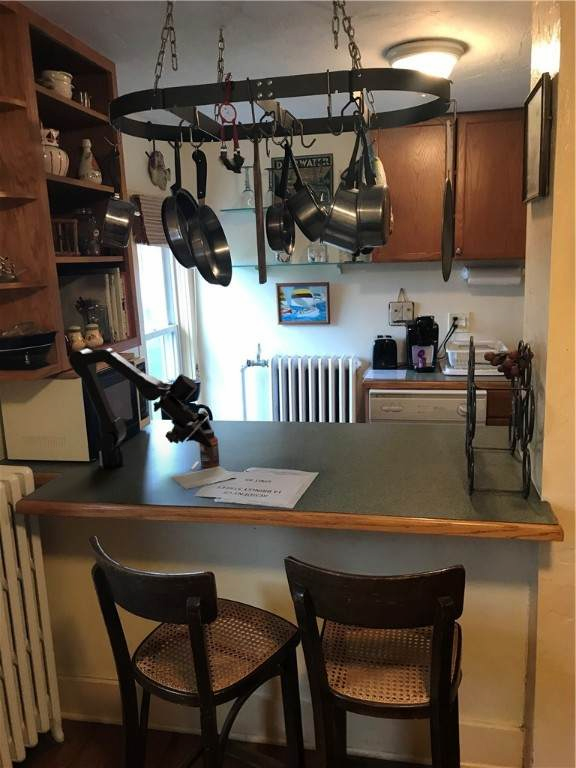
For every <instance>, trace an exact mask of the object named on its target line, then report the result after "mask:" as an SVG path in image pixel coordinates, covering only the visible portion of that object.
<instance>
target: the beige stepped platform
mask: <svg viewBox="0 0 576 768" xmlns="http://www.w3.org/2000/svg"><path fill="white" fill-rule="evenodd" d="M226 473H230V471H227V470H226V469H224V468H223V467H222V466H220V465H217V466H215V467H210V468H206V469H201V470H196V471H192V472H191V471H190V472H188V473H183V474H177V475H174V476H171V479H172V478H173V479H174V480H175V481H174V480H173V479H172V480H173V481H174V482H175V483H177V482H178V483H179V484H180V485H179V484H178V483H177V484H178V485H179V486H180V487H182V488H183V487H184V488H185V489H184V488H183V489H184V490H186V489H187V490H190V489H189V488H191V489H194V488H199V487H203V485H204V486H207V485H206V484H208V483H211V482H212V481H215V480H216V479H217V478H220V477H222V476H221V475H223V476H225V474H226ZM228 475H229V474H228ZM208 485H209V484H208Z"/></svg>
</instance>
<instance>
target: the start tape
mask: <svg viewBox="0 0 576 768" xmlns="http://www.w3.org/2000/svg"><path fill="white" fill-rule="evenodd" d="M199 463H200V461H199V460H198V461H195V462H194V464H193V465H192V466H191V467H190V470H194V469H195V468H196V467H197V466H198V464H199Z"/></svg>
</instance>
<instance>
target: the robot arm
mask: <svg viewBox="0 0 576 768" xmlns="http://www.w3.org/2000/svg"><path fill="white" fill-rule="evenodd" d="M68 363H69V365H70V366H71V368H72V370H73V371H74V372H75V374H76V375H77V376H78V377H79V378H80V379H82V382H83V385H84V387H85V389H86V392H87V393H88V396H89V398H90V401H91V403H92V405H93V408H94V410H95V412H96V414H97V415H96V416H97V417H98V419H99V432H100V437H101V438H100V439H99V440H98V441H97V442H96V444H94V446H95V449H96V451H97V452H99V453H98V454H99V463H98V464H99V466H100V467H101V469H102V470H107V469H113V468H118V467H123V466H124V454H123V450H122V449H121V446H120V445H121V444H122V441H123V440H124V438H125V437H126V435H127V430H126V429H127V428H128V426H126V424H125V421H124V418H123V417H122V416H120V417H118V416H117V415H115V414H114V412H113V409H112V407H111V405H110V402H109V400H108V397H107V395H106V393H105V391H104V388H103V386H102V383H101V381H100V379H99V376H98V372H97V371H98V369H97V367H98V363H105V364H106V365H107V366H109V367H111V368H112V369H113V370H114V371H116V372H117V373H118V374H120V375H121V376H122V377H124V378H125V379H126V380H128V381H129V382H130V383H132V384H133V385H134V386H135V388H136V390H137V391H138V393H140V395H141V396H142V397H143V398H144V399H146V400H147V401H150V402H151V401H155V402H153V412H154V413H156V412H158V411H159V410H160V409H161V410H162V411H163V412H164V413H165V414H166V415H167V416H168V417H170V418H171V424H173V427H172V429H171V430H168V431H167V432H166V434H165V436H164V437H165V438H166V439H167V441H168V442H169V443H170V444H173V443H175V444H179V443H182V444H183V443H184V442H192V441H194V442H197V443H198V444H199V443H200V444H202V445H204V446H206V447H208V448H210V447H211V446H212V445H211V443H210V441H209V439H208V438H207V436H206V435H205V433H204V430H213V429H212V426H211V423H210V421H209V418H208V417H209V413H208V412H206V410H201V411H199V412H198V414H197V413H196V414H194V412H192V411H191V410H190V409H189V408H190V406H189V405H188V404H186V405H185V404H183V403H182V402H181V401H187V400H188V399H189V397H191V395H192V394H193V393H195V391H196V390H197V389H198V384H197V383H196V382H195V381H194V380H193V379H191V378H190V377H188V376H186V375H184V374H183V373H180V374H179V375H178V376H177V377H176V379H175V381H174V382H173V383H166V382H163V381H162V380H161V379H158V378H157V377H154V376H152V375H149V374H146V373H144V372H142V371H141V370H140V369H139V368H138V367H135V366H134V365H133V364H132V363H131V362H129V361H128V360H127V359H125V358H124V357H123V356H121V355H120V354H119V353H117V352H116V351H115V350H114V349H113V348H111V347H107V348H103V349H102V348H101V349H93V350H91V349H89V348H85V347H84V348H80V349H77V350H74V351H72V352H71V353H70V355H69V357H68ZM168 393H169V394H168ZM167 394H168V395H167ZM166 395H167V396H166ZM158 399H160V400H159V401H156V400H158ZM214 436H215V437H216V435H215V434H214Z"/></svg>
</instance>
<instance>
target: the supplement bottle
mask: <svg viewBox="0 0 576 768" xmlns="http://www.w3.org/2000/svg"><path fill="white" fill-rule="evenodd" d="M204 433H205V435H206V436H207V438H208V439H209V441H210V443H211V445H212V446H211V447H210V448H208V447H206V446H204V445H202V444H200V443H198V444H199V454H200V456H199V458H200V466H201V467H203V468H206V469H209V468H214V467H218V466H220V454H219V452H220V451H219V442H218V441H219V440H218V437H216V435H215V430H213V429H212V430H204ZM214 435H215V436H214Z"/></svg>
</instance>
